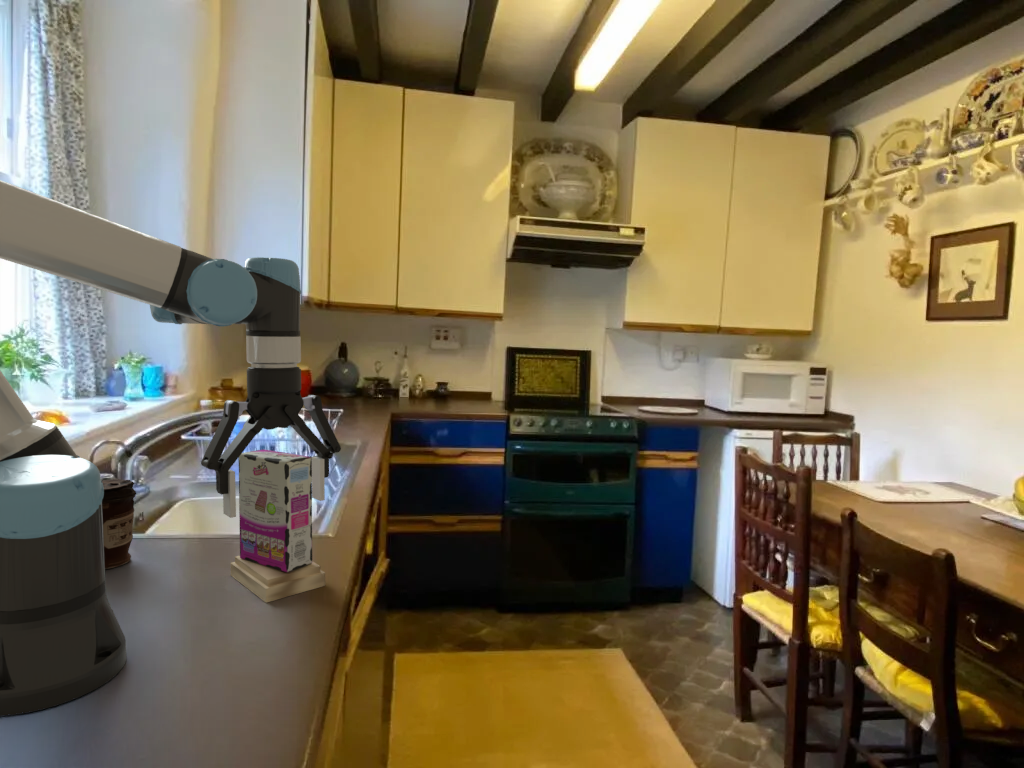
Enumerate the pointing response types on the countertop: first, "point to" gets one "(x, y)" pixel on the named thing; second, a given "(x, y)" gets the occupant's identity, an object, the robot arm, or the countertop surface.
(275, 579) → the plinth
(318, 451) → the robot arm
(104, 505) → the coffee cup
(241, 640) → the countertop surface
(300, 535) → the candy bar box
